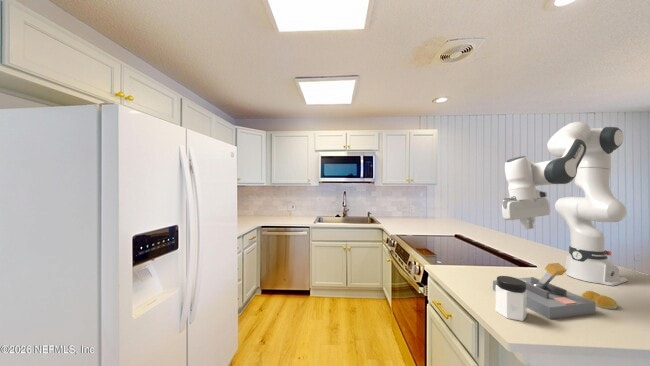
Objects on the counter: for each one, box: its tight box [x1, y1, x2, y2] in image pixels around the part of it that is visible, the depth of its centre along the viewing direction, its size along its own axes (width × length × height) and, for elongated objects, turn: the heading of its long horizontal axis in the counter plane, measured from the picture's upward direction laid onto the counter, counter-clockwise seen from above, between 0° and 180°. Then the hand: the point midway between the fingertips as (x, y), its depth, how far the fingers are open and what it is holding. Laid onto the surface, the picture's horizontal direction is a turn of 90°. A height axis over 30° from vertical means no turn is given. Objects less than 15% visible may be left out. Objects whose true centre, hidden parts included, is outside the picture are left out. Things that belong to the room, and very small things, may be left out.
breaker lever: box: [532, 262, 567, 290], centre depth 90 cm, size 5×3×13 cm
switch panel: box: [492, 276, 597, 320], centre depth 93 cm, size 20×22×6 cm
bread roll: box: [580, 290, 618, 310], centre depth 91 cm, size 8×9×4 cm
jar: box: [495, 275, 528, 322], centre depth 83 cm, size 9×8×12 cm
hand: (529, 228), depth 97 cm, fingers closed
